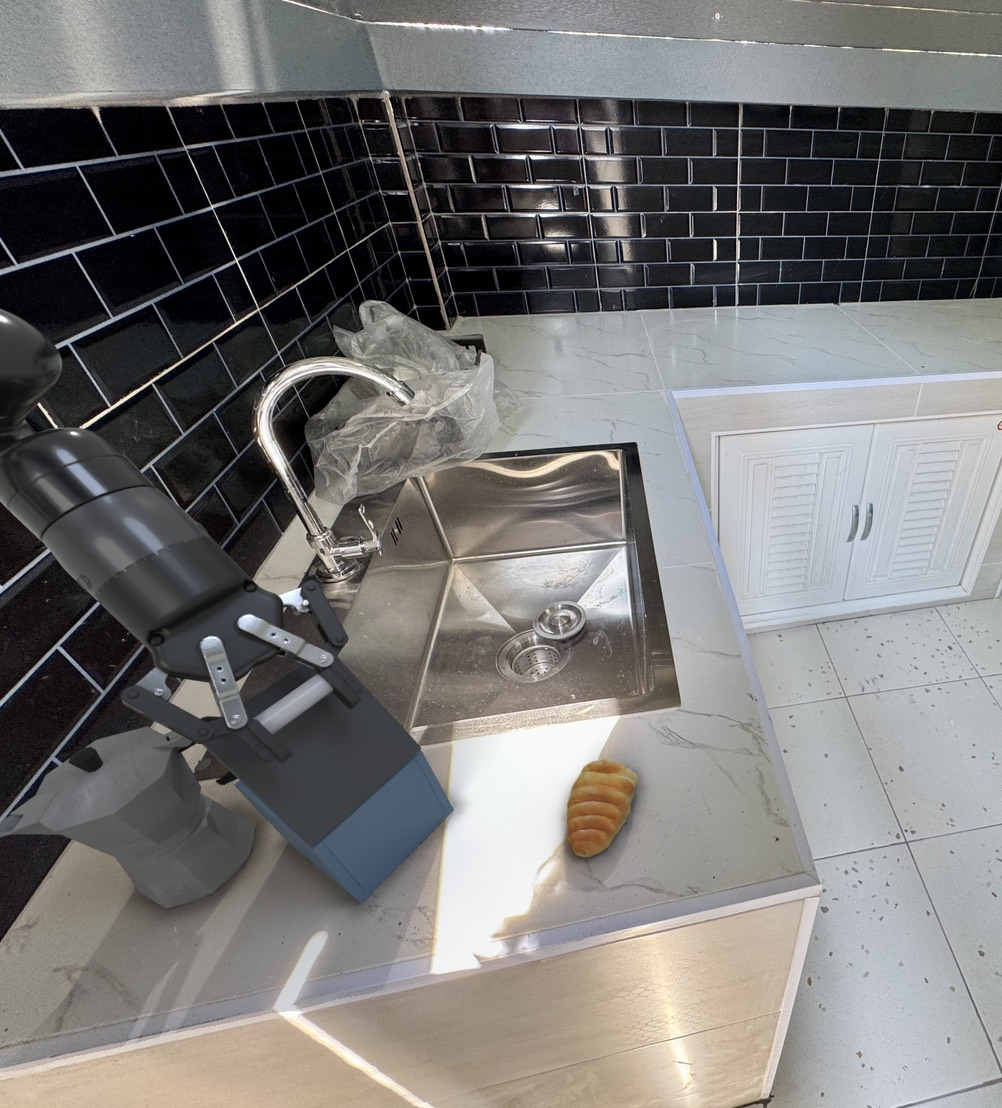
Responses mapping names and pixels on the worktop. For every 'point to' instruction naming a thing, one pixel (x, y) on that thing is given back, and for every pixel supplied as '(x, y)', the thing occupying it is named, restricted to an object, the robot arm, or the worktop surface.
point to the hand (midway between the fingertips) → (322, 730)
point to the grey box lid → (317, 751)
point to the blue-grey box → (373, 828)
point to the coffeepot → (142, 815)
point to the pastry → (599, 806)
